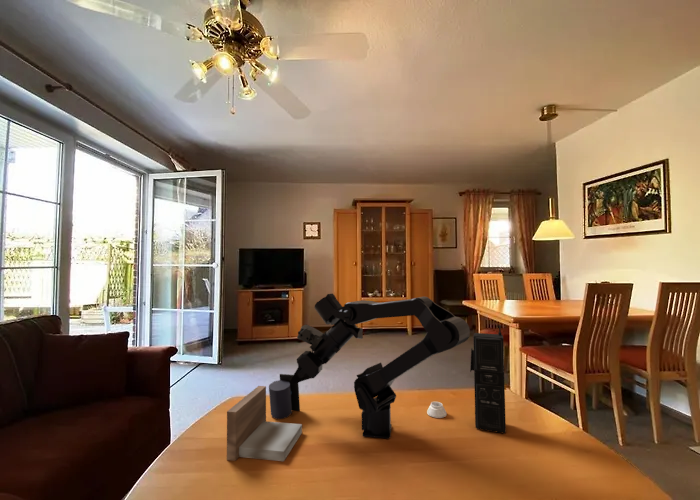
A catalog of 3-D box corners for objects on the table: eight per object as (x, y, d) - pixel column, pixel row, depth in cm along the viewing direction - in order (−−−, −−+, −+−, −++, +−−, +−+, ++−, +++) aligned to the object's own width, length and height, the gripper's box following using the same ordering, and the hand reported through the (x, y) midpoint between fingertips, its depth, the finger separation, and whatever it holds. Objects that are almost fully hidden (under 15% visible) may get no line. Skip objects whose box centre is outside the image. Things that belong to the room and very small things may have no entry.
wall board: (303, 429, 83) (303, 388, 84) (280, 465, 69) (280, 415, 69) (258, 425, 85) (258, 385, 86) (226, 459, 71) (226, 411, 71)
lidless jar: (434, 420, 88) (450, 417, 90) (434, 409, 88) (450, 405, 90) (423, 412, 93) (438, 409, 94) (423, 402, 93) (438, 399, 95)
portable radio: (470, 429, 83) (468, 326, 84) (471, 418, 88) (469, 322, 89) (506, 435, 80) (503, 328, 81) (504, 423, 86) (502, 324, 86)
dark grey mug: (285, 405, 97) (284, 370, 97) (300, 410, 94) (299, 374, 93) (265, 417, 91) (263, 380, 90) (280, 424, 88) (279, 385, 87)
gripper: (324, 310, 100) (289, 346, 102) (304, 321, 82) (262, 365, 84) (350, 338, 99) (314, 374, 100) (336, 355, 80) (292, 399, 82)
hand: (296, 377), depth 92 cm, fingers open, 9 cm apart
